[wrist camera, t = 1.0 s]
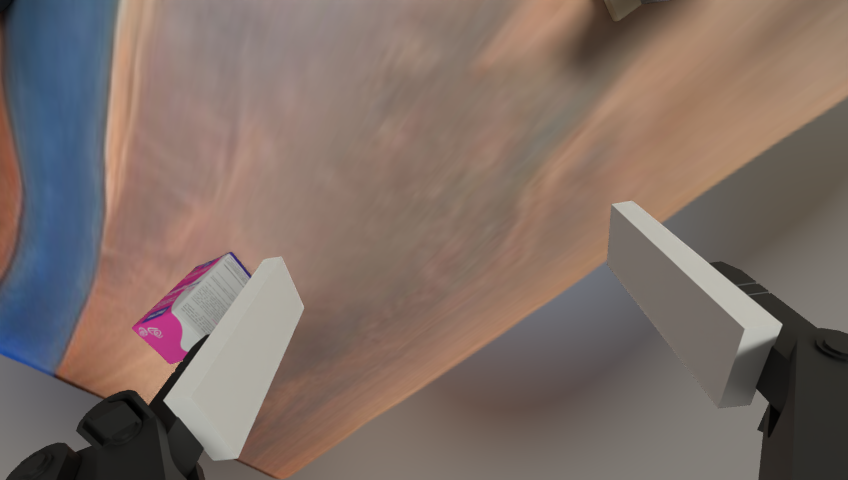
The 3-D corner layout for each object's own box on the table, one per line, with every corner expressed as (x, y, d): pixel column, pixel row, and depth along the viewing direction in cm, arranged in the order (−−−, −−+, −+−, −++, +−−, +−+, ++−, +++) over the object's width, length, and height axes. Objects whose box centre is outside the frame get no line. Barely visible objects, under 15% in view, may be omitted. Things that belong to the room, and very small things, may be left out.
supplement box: (230, 249, 45) (173, 311, 35) (260, 285, 47) (215, 352, 37) (193, 265, 46) (128, 329, 36) (224, 299, 48) (171, 368, 38)
